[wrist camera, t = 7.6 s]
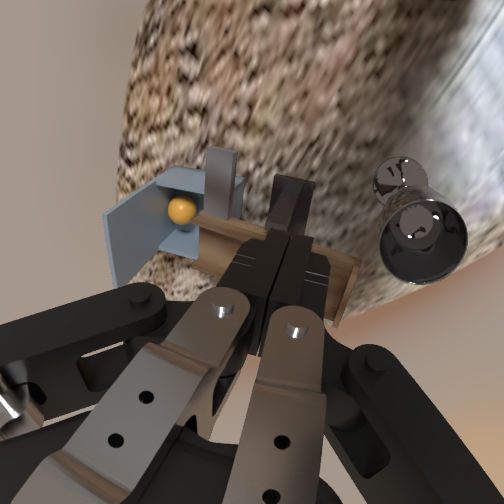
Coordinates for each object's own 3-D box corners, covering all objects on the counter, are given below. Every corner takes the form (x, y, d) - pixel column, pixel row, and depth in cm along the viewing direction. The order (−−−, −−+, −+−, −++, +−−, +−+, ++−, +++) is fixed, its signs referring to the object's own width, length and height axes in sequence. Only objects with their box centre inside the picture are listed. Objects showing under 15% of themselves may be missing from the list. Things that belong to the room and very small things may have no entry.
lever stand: (275, 173, 40) (252, 208, 31) (315, 182, 39) (303, 220, 30) (262, 258, 47) (240, 308, 38) (296, 267, 46) (281, 319, 37)
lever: (207, 144, 32) (191, 151, 30) (383, 190, 27) (381, 202, 25) (202, 259, 40) (189, 271, 38) (342, 310, 35) (337, 328, 33)
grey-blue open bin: (174, 165, 43) (102, 214, 30) (244, 177, 41) (192, 236, 28) (174, 228, 49) (114, 291, 36) (237, 244, 47) (192, 318, 34)
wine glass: (378, 220, 39) (387, 292, 27) (362, 161, 36) (369, 212, 24) (435, 207, 36) (469, 275, 24) (423, 147, 33) (463, 190, 20)
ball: (195, 204, 41) (199, 191, 44) (164, 202, 40) (170, 189, 44) (194, 231, 43) (198, 217, 46) (165, 229, 42) (170, 215, 46)
